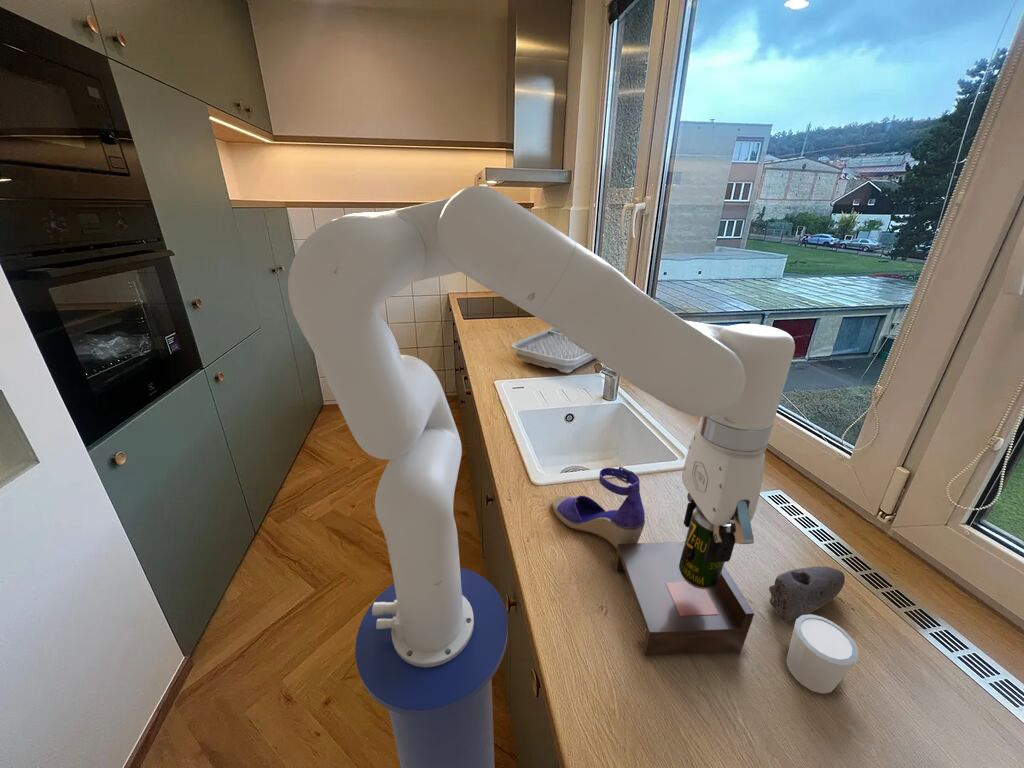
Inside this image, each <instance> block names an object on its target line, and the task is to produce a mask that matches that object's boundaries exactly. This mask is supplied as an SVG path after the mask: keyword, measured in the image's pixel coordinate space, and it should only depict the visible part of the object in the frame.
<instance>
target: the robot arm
mask: <svg viewBox="0 0 1024 768" xmlns="http://www.w3.org/2000/svg"><path fill="white" fill-rule="evenodd" d="M289 267H290V268H289V272H288V276H287V295H288V302H289V305H290V308H291V311H292V314H293V316H294V318H295V321H296V323H297V325H298V327H299V329H300V331H301V333H302V334H303V337H304V338H305V340H306V341H307V343H308V345H309V347H310V348H311V351H312V352H313V354H314V356H315V357H316V360H317V361H318V363H319V366H320V368H321V370H322V372H323V375H324V377H325V380H326V382H327V385H328V386H329V388H330V391H331V393H332V395H333V397H334V399H335V401H336V404H337V405H338V408H339V410H340V412H341V414H342V416H343V418H344V421H345V422H346V424H347V427H348V429H349V431H350V433H351V435H352V437H353V439H354V440H355V441H356V443H357V445H358V446H359V447H360V448H361V449H362V451H364V452H365V453H366V454H367V455H369V456H371V457H373V458H375V459H379V460H384V461H385V460H386V461H387V460H388V463H387V464H386V467H385V468H384V470H383V472H382V474H381V477H380V479H379V482H378V485H377V488H376V490H375V491H376V492H375V497H374V511H375V517H376V519H377V521H378V523H379V526H380V528H381V530H382V533H383V535H384V539H385V542H386V547H387V552H388V558H389V564H390V567H391V574H392V578H393V583H394V586H395V592H396V598H397V600H394V602H374V601H373V602H374V604H373V608H372V615H373V616H385V615H393V619H386V618H384V619H377V623H376V629H386V628H392V632H391V633H392V641H393V645H394V648H395V650H396V652H397V654H398V655H399V656H400V657H401V658H402V659H403V660H404V661H406V662H407V663H409V664H412V665H414V666H418V667H434V666H438V665H441V664H444V663H446V662H448V661H450V660H451V659H453V658H454V657H456V656H457V655H458V654H459V653H460V652H461V651H462V650H463V649H464V648H465V646H466V645H467V644H468V642H469V640H470V638H471V635H472V632H473V626H474V615H473V611H472V607H471V605H470V603H469V602H468V600H467V599H466V598H465V597H464V596H463V595H462V588H461V575H460V568H461V563H460V549H459V538H458V537H459V535H458V527H457V524H456V519H455V516H454V503H455V502H454V501H455V491H456V486H457V481H458V478H459V477H458V475H459V470H460V466H461V462H462V455H463V454H462V453H463V447H462V441H461V437H460V434H459V431H458V428H457V425H456V422H455V420H454V417H453V414H452V410H451V408H450V405H449V402H448V400H447V397H446V394H445V391H444V388H443V386H442V384H441V382H440V379H439V377H438V376H437V374H436V372H435V371H434V370H433V369H432V368H431V366H429V364H427V363H426V362H425V361H423V360H422V359H420V358H418V357H417V356H412V355H409V354H401V351H400V349H399V346H398V343H397V340H396V338H395V335H394V334H393V332H392V330H391V329H390V327H389V325H388V324H387V322H386V321H385V320H384V318H383V317H382V315H381V306H382V305H383V304H384V303H385V302H386V301H387V300H388V299H390V298H391V297H393V296H395V295H396V294H397V293H399V292H401V291H402V290H404V289H405V288H406V287H408V286H409V285H410V284H412V283H416V282H420V281H424V280H428V279H433V278H438V277H443V276H447V275H453V274H456V273H462V274H463V275H465V276H467V277H468V278H470V279H471V280H473V281H474V282H476V283H477V284H479V285H481V286H483V287H484V288H487V289H488V290H490V291H491V292H493V293H495V294H497V295H498V296H499V297H502V298H503V299H505V300H506V301H508V302H510V303H512V304H513V305H515V306H517V307H518V308H520V309H522V310H523V311H525V312H527V313H529V314H530V315H532V316H533V317H535V318H537V319H538V320H540V321H541V322H544V323H545V324H547V325H548V326H550V327H551V328H552V327H553V328H555V329H556V330H558V331H559V332H560V333H562V334H563V335H564V336H565V337H567V338H568V339H569V340H570V341H571V342H573V343H574V344H575V345H577V346H578V347H580V348H581V349H583V350H584V351H586V352H587V353H589V354H590V355H592V356H593V357H595V359H596V360H597V361H599V362H600V363H601V364H603V365H604V366H605V367H606V368H608V369H610V370H611V371H612V372H614V374H616V375H618V376H620V378H622V379H623V380H625V381H626V382H628V383H630V384H631V385H632V386H634V387H635V388H638V390H640V391H642V392H643V393H645V394H647V395H648V396H651V397H652V398H654V399H656V400H657V401H659V402H661V403H662V404H664V405H666V406H668V407H670V408H671V409H673V410H675V411H677V412H679V413H681V414H684V415H687V416H690V417H691V416H692V417H698V418H700V419H699V422H698V425H697V426H696V428H695V430H694V431H693V435H692V437H691V440H690V443H689V446H688V450H687V452H686V457H685V460H684V465H683V468H682V472H681V473H682V474H681V481H682V484H683V486H684V487H685V489H686V491H687V492H688V493H687V496H686V497H687V501H688V502H687V506H686V510H685V514H684V520H683V525H684V527H686V528H689V525H690V521H691V517H692V513H693V510H694V509H695V507H696V506H698V507H699V509H700V510H701V511H702V513H703V514H704V516H705V517H706V518H707V520H708V521H709V522H710V523H712V524H713V525H714V529H713V536H709V540H708V544H707V548H706V552H705V556H704V559H705V560H706V562H725V563H727V562H730V561H731V558H732V554H733V551H734V547H735V544H737V545H751V544H754V543H755V539H754V533H753V529H752V523H751V522H752V521H753V518H754V515H755V514H756V510H757V507H758V503H759V499H760V494H761V489H762V485H763V480H764V479H763V477H764V470H765V461H766V454H765V452H766V450H767V448H768V443H769V440H770V437H771V435H772V431H773V427H774V422H775V419H776V416H777V412H778V410H779V405H780V403H781V400H782V399H781V398H782V396H783V393H784V389H785V385H786V382H787V379H788V375H789V371H790V369H791V365H792V362H793V359H794V355H795V350H796V344H795V339H794V338H793V336H792V335H791V334H789V333H788V332H787V331H784V330H782V329H780V328H776V327H773V326H769V325H763V324H756V323H738V324H732V325H731V324H730V325H718V324H710V323H703V322H698V321H697V322H696V321H691V320H684V319H683V318H681V317H680V316H678V315H677V314H675V313H674V312H672V311H671V310H669V309H668V308H666V307H665V306H663V305H662V304H661V303H659V302H658V301H656V300H655V299H654V298H652V297H651V296H649V294H647V293H646V292H644V291H643V290H642V289H640V288H639V287H637V286H636V285H635V284H634V282H632V281H630V279H629V278H627V277H626V276H625V275H624V274H623V273H621V272H620V271H619V270H618V269H617V268H616V267H614V266H613V265H611V264H610V263H609V262H607V261H606V260H605V259H604V258H602V257H600V256H599V255H597V254H595V253H594V252H592V251H591V250H590V249H588V248H587V247H585V246H583V245H581V244H580V243H579V242H577V241H576V240H574V239H573V238H571V237H569V236H568V235H566V234H565V233H563V232H562V231H560V230H558V229H557V228H555V227H554V226H552V225H551V224H549V223H548V222H546V221H545V220H543V219H542V218H540V217H539V216H537V215H536V214H534V213H533V212H531V211H530V210H528V209H527V208H525V207H524V206H522V205H520V204H519V203H517V202H516V201H514V200H513V199H512V198H510V197H509V196H507V195H505V194H503V193H502V192H500V191H499V190H497V189H495V188H492V187H489V186H486V185H472V186H467V187H466V188H463V189H461V190H459V191H458V192H456V193H455V194H454V195H452V196H450V197H447V198H443V199H438V200H434V201H431V202H426V203H421V204H417V205H411V206H407V207H402V208H397V209H393V210H388V211H380V212H377V211H376V212H358V213H357V212H356V213H350V214H345V215H343V216H339V217H337V218H334V219H332V220H329V221H328V222H326V223H324V224H323V225H321V226H319V227H318V228H316V230H314V232H312V233H311V234H310V235H309V236H308V237H307V238H306V239H304V241H303V243H302V244H301V246H300V247H299V248H298V249H297V251H296V253H295V254H294V257H293V259H292V262H291V264H290V266H289ZM725 524H731V530H730V532H723V526H724V525H725ZM447 654H448V655H447Z"/></svg>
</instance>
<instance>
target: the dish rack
mask: <svg viewBox="0 0 1024 768" xmlns="http://www.w3.org/2000/svg"><path fill="white" fill-rule="evenodd" d="M510 347H511V348H512V349H513V350H515V353H514V354H515V357H516V358H518V359H520V360H523V362H524V363H527V364H533V365H536V366H539V367H543V368H547V369H549V368H553V369H556V370H558V372H559V373H561V374H562V373H563V374H569V373H572V372H574V370H576V369H577V368H579V367H582V366H584V365H586V364H587V363H589V362H591V361H592V360H594V359H596V358H595V357H593V356H592V355H590V354H589V353H587V352H586V351H584V350H583V349H581V348H580V347H578V346H577V345H575V344H574V343H573V342H571V341H570V340H569V339H568V338H567V337H565V336H564V335H563V334H562V333H560V332H559V331H558V330H556V329H555V328H553V327H552V326H551V327H549V328H547V329H544V330H543V331H540V332H538V333H535V334H533V335H530V336H528V337H526V338H523V339H520V340H517V341H515V342H513V343H511V345H510Z"/></svg>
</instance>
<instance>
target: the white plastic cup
mask: <svg viewBox="0 0 1024 768" xmlns="http://www.w3.org/2000/svg"><path fill="white" fill-rule="evenodd" d="M788 647H789V648H788V652H787V656H786V665H787V668H788V671H789V672H790V673H791V675H792V676H793V678H794V679H795V680H796V681H797V682H799V684H800V685H802V686H803V687H805V688H807V690H810V691H811V692H814V693H818V694H821V695H823V694H831V693H832V692H833V691H834V690H835V688H836V687H837V686H838V685H839V684H840V683H841V681H842V680H843V679H844V677H845V676H846V675H847V674H848V672H849V671H850V670H851V669H852V667H853V666H854V665H855V664H856V662H858V660H859V649H858V646H857V644H856V642H855V640H854V639H853V638H852V637H851V636H850V635H849V633H848V632H847V631H846V630H844V629H843V628H842V627H840V626H839V625H838V624H837V623H835V622H834V621H831V620H829V619H828V618H825V617H823V616H820V615H817V614H812V613H810V614H808V615H801V616H800V617H799V618H797V619H795V622H794V627H793V631H792V635H791V639H790V643H789V646H788Z"/></svg>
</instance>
